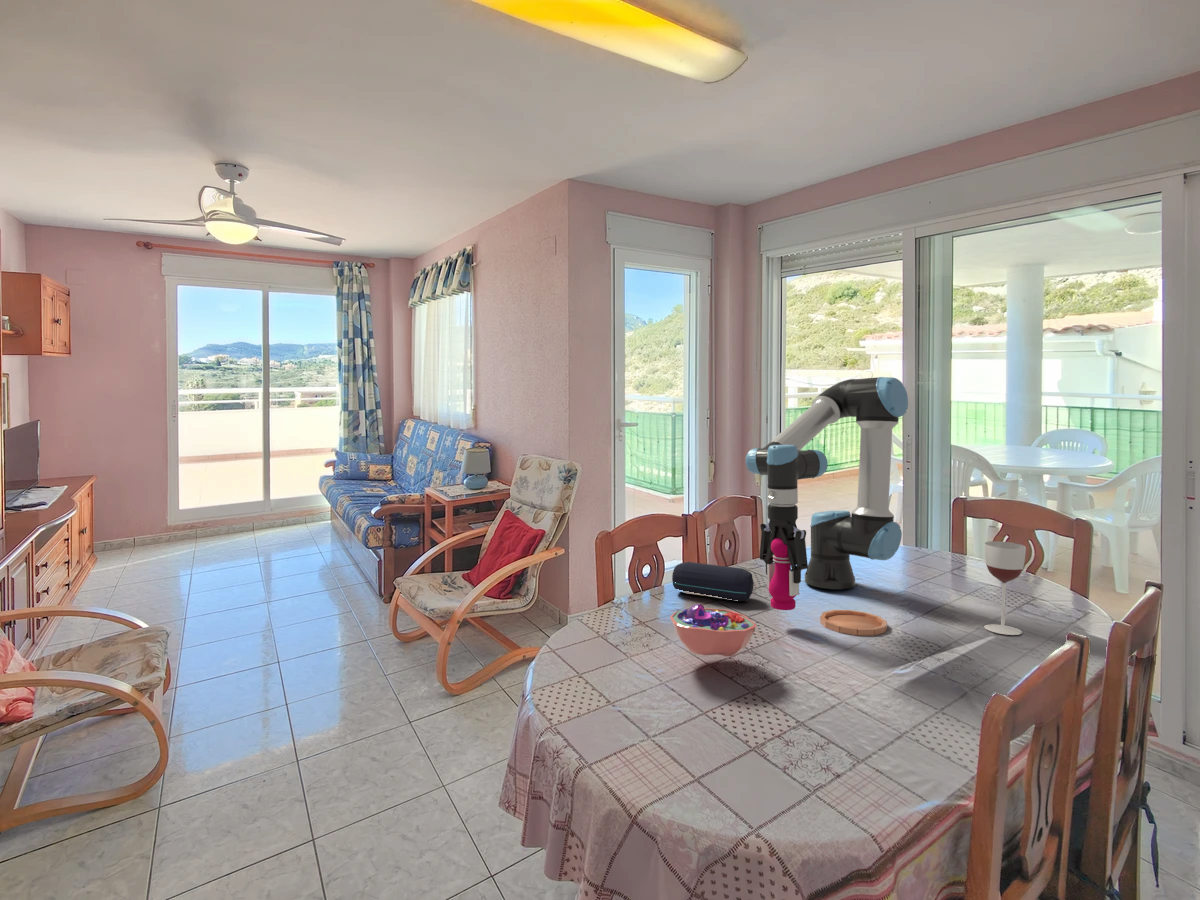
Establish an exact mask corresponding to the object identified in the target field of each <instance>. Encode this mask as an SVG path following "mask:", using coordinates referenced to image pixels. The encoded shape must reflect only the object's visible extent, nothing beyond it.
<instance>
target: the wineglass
mask: <svg viewBox="0 0 1200 900" xmlns="http://www.w3.org/2000/svg"><path fill="white" fill-rule="evenodd" d="M1026 551H1027V547H1026V546H1025V545H1024V544H1022V543H1021V544H1020V543H1017V542H1010V541H986V542H985V543H984V555H985V556H984V557H985V558H984V559H985V565H986V567H987V568H986V569H987V570H988V572H989V574H990V575H992V576H993V577H994V578H996V579H997V580H998V581H1000V582H1001V604H1000V605H1001V606H1000V607H1001V610H1000V611H1001V613H1000V624H999V623H998V624H995V623H993V624H992V623H991V624H985V625H984V626H983V627H984V629H985V630H987V631H990V632H993V633H996V634H999V635H1000V634H1001V635H1008V636H1009V635H1010V636H1019V635H1021V634H1023V631H1022V630H1021V629H1019V628H1016V627H1013V626H1009V625H1005V624H1006V594H1007V593H1006V589H1007V583H1008V582H1010V581H1013V580H1016V579H1017V578H1019V577H1020V575H1021V574H1022V572H1023V570H1024V567H1025V562H1026V553H1027V552H1026Z"/></svg>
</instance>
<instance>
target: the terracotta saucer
mask: <svg viewBox="0 0 1200 900" xmlns="http://www.w3.org/2000/svg"><path fill="white" fill-rule="evenodd" d="M819 622H820V624H821V625H822V626H824V627H825V628H826V629H828V630H831V631H834V632H836V633H840V634H846V635H853V636H878V635H880V634H884V633H886V632H887V629H888V621H886V619H884V618H883V617H881V616H879V615H876V614H873V613H870V612H866V611H860V610H852V609H832V610H829V611H824V612H822V613H821V615H820V616H819Z"/></svg>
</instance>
